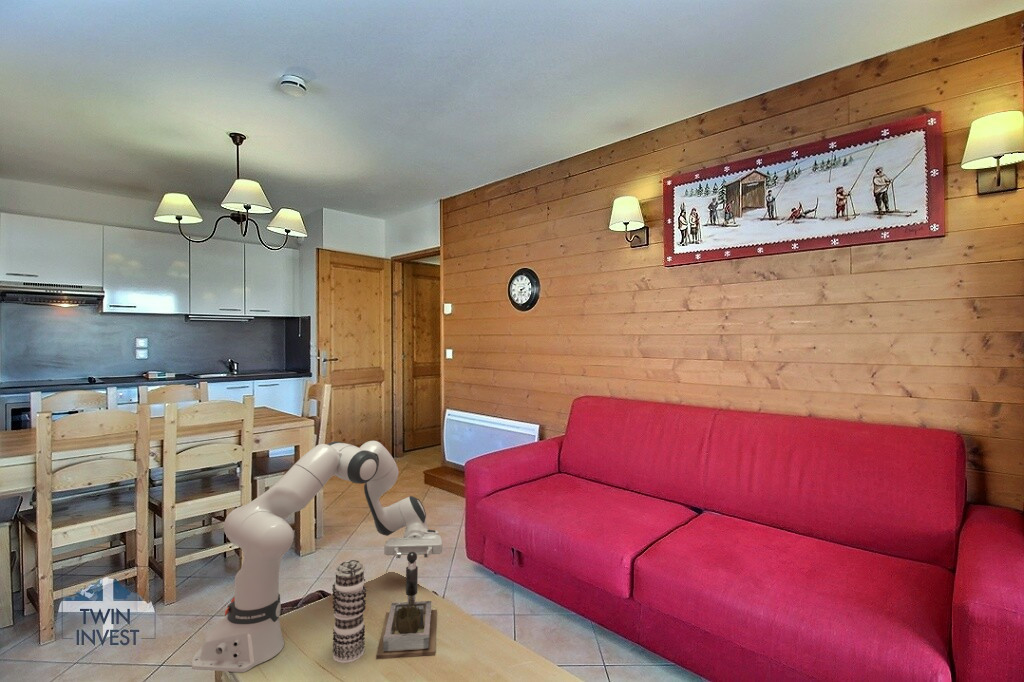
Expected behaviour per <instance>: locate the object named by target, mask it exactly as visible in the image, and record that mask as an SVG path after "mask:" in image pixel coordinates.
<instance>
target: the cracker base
mask: <svg viewBox="0 0 1024 682" xmlns="http://www.w3.org/2000/svg"><path fill="white" fill-rule="evenodd" d="M410 607H411V606H409V608H410ZM418 607H419V609H421V619H420V625H419V629H418V630H424V627H425V615H426V613H423V606H416V608H418ZM399 608H400V609H401V607H397V610H396V613H398V609H399ZM405 608H407V607H405ZM389 613H390V611H388V612H386V611H385V616H384V620H383V624H382V629H381V633H380V636H379V641H378V647H377V650H376V655H375V659H376V660H381V659H382V660H385V659H395V658H397V659H398V658H413V657H414V658H415V657H426V656H427V657H429V656H435V655H436V640H437V639H436V635H437V621H438V620H437V616H438V614H437V613H438V609H431V622H430V637H429V649H419V650H404V651H389V652H383V637H384V635H385V631H386V627H387V622H388V617H389ZM395 631H398V629H397V622H396V617H395V622H394V627H393V632H392V634H395Z"/></svg>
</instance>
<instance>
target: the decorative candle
mask: <svg viewBox="0 0 1024 682" xmlns="http://www.w3.org/2000/svg"><path fill="white" fill-rule="evenodd" d="M365 571H366V566H365V565H364V564H363V563H362V562H360V561H359V560H356V559H351V560H350V559H349V560H346V561H343V562H342V563H340V564H339V565H338V566H337V567H336V569H335V570H334V573H335V581H334V584H332V589H331V590H332V594H331V595H332V605H333V606H332V609H333V617H334V618H335V619H334V626H333V627H334V628H333V631H332V634H333V638H332V640H333V642H332V658H333V660H334V661H335V662H338V663H339V664H340V663H341V664H347V663H352V662H355V661H357V660H359V659H360V658H362V657H363V655H364V654H365V647H366V646H365V645H366V643H365V639H366V638H365V635H366V634H365V632H366V625H365V623H364V619H365V618H364V612H365V611H366V604H367V603H366V601H367V600H366V598H367V593H366V592H367V587H366V586H365V582H366V579H365V575H364V574H365Z"/></svg>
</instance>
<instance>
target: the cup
mask: <svg viewBox="0 0 1024 682" xmlns="http://www.w3.org/2000/svg"><path fill="white" fill-rule="evenodd" d="M420 619H421V609H419V607H418V608H416V606H413V605H412V606H411V607H410V608H409V605H408V606H407V608H405V607H404V606H402V607H401V609H400V608H399V609H398V613H396V622H397V629H398V630H397V631H398V634H407V633H418V631H419V630H420V629H419V625H420Z"/></svg>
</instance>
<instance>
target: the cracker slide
mask: <svg viewBox="0 0 1024 682" xmlns="http://www.w3.org/2000/svg"><path fill="white" fill-rule="evenodd" d="M406 560H407V566H406V567H405V569H406V570H405V575H406V576H405V595H406V596H407V602H406V601H405V602H391V605H390V609H389V612H390V613H389V617H388V622H387V627H386V631H385V635H384V637H383V652H389V651H404V650H419V649H429V637H430V622H431V610H432V600H426V601H416V595H418V581H419V580H418V576H419V575H418V571H419V569H418V568H419V567H418V566H417V564H416V563H417V560H418V555H417V554H416V553H415V552H410V553H409V554H408V555H406ZM408 605H409V606H412V605H413V606H423V613H426V615H425V627H424V629H423V632H416V633H407V634H400V633H394V634H392V632H393V627H394V622H395V617H396V610H397V607H402V606H404V607H407V606H408Z"/></svg>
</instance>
